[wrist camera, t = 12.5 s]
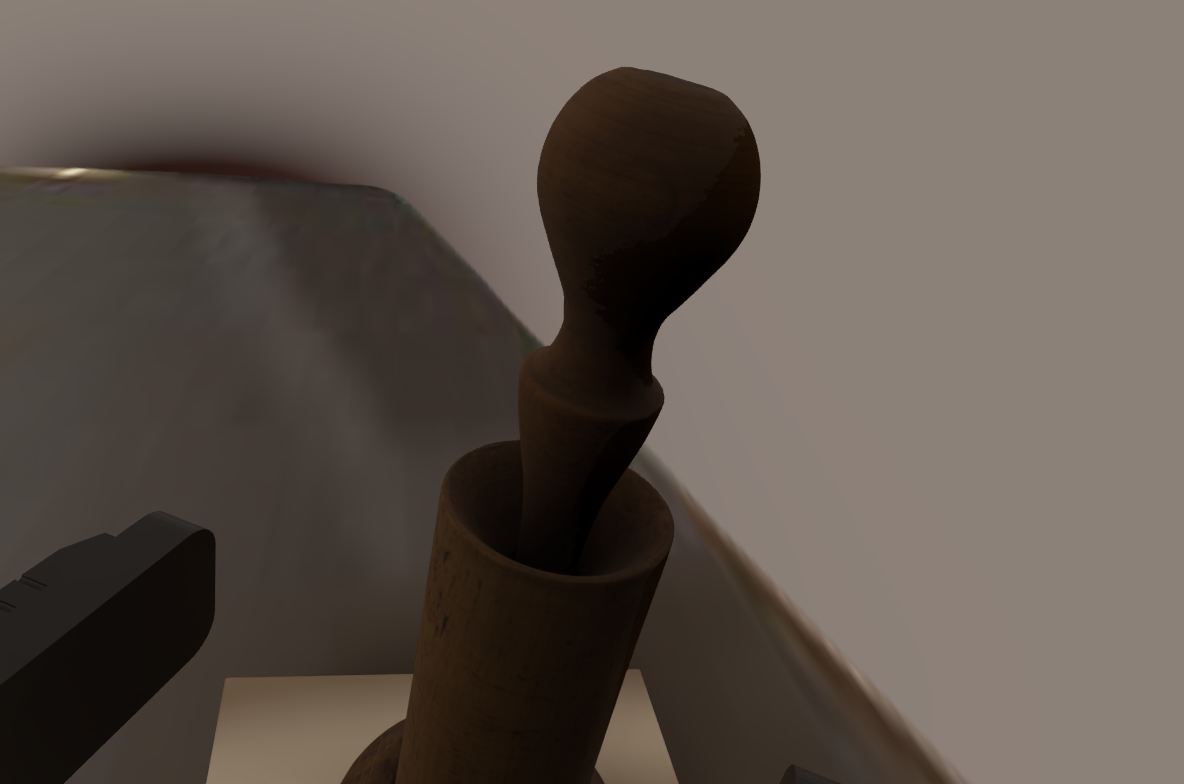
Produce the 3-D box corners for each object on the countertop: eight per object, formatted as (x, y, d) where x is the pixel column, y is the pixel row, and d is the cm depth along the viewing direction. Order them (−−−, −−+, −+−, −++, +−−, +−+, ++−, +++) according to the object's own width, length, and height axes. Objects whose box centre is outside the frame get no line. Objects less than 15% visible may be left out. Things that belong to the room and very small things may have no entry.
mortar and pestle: (314, 773, 21) (397, -11, 12) (560, 746, 23) (773, 72, 15) (317, 1093, 15) (470, 89, 7) (639, 1016, 18) (1049, 195, 9)
